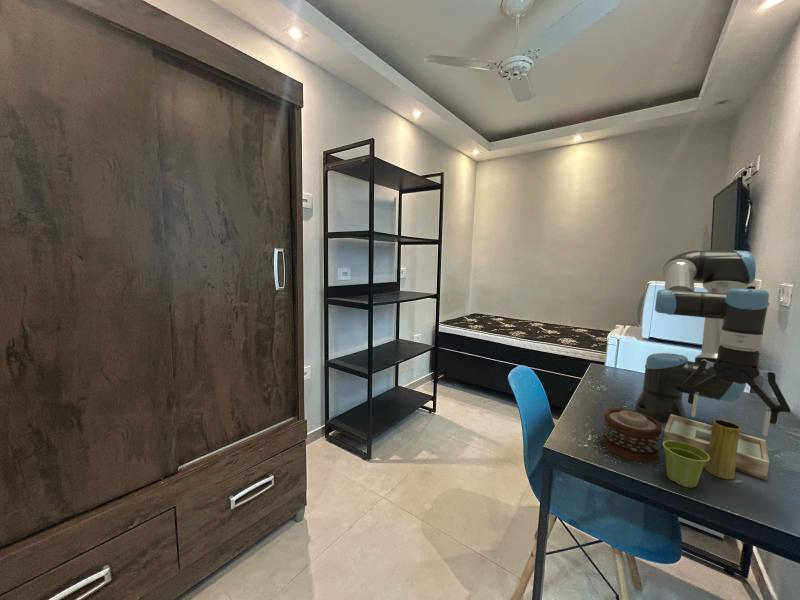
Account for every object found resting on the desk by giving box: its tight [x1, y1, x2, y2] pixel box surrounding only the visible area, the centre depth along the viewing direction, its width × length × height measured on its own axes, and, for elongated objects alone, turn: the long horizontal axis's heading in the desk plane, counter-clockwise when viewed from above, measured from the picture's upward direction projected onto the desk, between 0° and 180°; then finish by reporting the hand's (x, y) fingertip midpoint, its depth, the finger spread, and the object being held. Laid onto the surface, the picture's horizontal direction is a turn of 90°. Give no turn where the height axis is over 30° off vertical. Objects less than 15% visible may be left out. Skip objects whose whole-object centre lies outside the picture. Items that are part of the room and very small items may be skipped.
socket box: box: [661, 414, 770, 481], centre depth 100 cm, size 22×16×5 cm
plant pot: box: [662, 440, 710, 489], centre depth 86 cm, size 9×9×9 cm
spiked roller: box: [602, 408, 663, 463], centre depth 101 cm, size 15×11×15 cm
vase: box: [703, 419, 741, 480], centre depth 89 cm, size 6×6×14 cm
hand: (727, 424), depth 88 cm, fingers open, 13 cm apart
